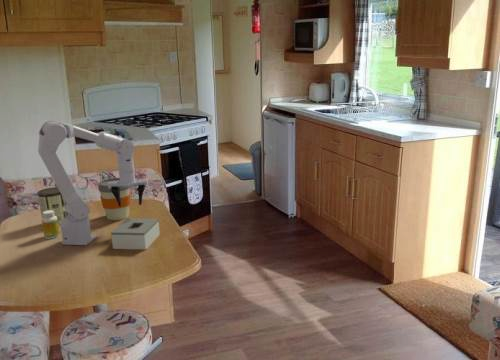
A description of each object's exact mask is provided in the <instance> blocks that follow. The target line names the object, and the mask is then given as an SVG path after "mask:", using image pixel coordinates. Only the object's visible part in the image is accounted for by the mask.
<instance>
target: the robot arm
mask: <svg viewBox="0 0 500 360" xmlns="http://www.w3.org/2000/svg"><path fill="white" fill-rule="evenodd" d="M38 136H39V138H38V149H37V152H38V155H39V156H40V158H41V160H42V163H44V166H45V167H46V169H47V171H48V174H49V175H50V176H51V178H52V180H53V182H54V184H55V185H56V186H55V187H58V189H59V191H60V193H61V195H62V199H63V201H64V207H65V210H66V212H67V213H68V217H67V218H64V219H63V220H62V222H61V227H60V231H61V235H62V236H61V238H62V242H61V245H63V246H64V245H69V246H70V245H72V246H74V245H75V246H87V245H89V244H90V243H91V242H92V241H93V240H95V239H96V238H97V235H92V231H91V225H90V215H89V214H90V211H91V210H90V206H89V205H88V204H87V203H85V202H84V201H83V200H82V198H81V197H80V195H79V194H78V192H77V190H76V188H75V187H74V185H73V183H72V181H71V179H70V177H69V176H68V173H67V171H66V170H65V168H64V165H63V164H62V162H61V160H60V159H59V157H58V155H57V151H58V148H59V146H60V145H61V144H62V143H63V142H64V141H65V140H66V139H72V138H74V137H76V138H80V139H83V140H87V141H89V142H90V141H91V142H94V143H95V145H96V146H97V147H98V148H101V149H104V150H109V151H111V152H116V157H117V158H116V160H117V167H118V168H117V169H118V178H120V181H116V182H109V183H108V188H111V192H112V193H113V195H114V196H115V198H116V200H117V202H118V205H119V206H121V198H120V187H130V188H131V187H137V194H138V195H137V196H138V204H139V206H141V205H143V204H142V203H143V197H144V191H145V188H146V187H148V186H149V182H148V181H149V180H148V179H136V174H135V173H136V172H135V163H134V155H133V153H134V152H135V148H136V147H135V145H134V143H133V141H132V140H130V139H128V138H123V137H122V135H115V134H112V133H111V132H110V131H107V130H105V131H99V132H98V133H96V132H93V131H90V130H87V129H85V128H82V127H79V126H77V125H73V124H69V123H63V122H56V121H53V120H47V121H44V123H43V124H42V125H41V127H40V129H39V131H38Z"/></svg>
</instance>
